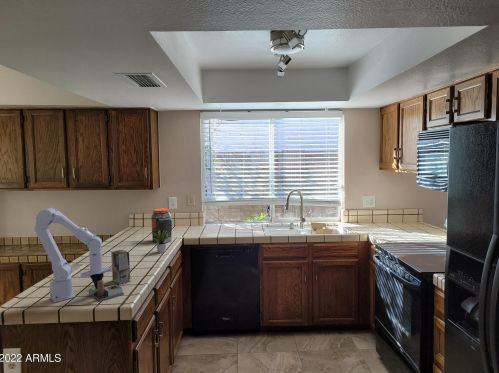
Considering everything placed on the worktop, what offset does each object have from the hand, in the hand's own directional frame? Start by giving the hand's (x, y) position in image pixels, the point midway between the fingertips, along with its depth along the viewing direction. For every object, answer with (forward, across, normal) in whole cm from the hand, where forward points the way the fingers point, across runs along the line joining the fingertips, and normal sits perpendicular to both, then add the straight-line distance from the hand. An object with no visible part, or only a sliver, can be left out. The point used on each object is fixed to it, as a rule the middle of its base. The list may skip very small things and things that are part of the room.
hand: (97, 288), depth 180 cm
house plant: (+3, +63, +48) cm, 80 cm away
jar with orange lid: (+3, +83, +79) cm, 115 cm away
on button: (+2, 0, 0) cm, 2 cm away
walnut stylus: (+2, -1, -7) cm, 7 cm away
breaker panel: (+3, +3, -4) cm, 5 cm away
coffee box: (+3, +17, +10) cm, 20 cm away
